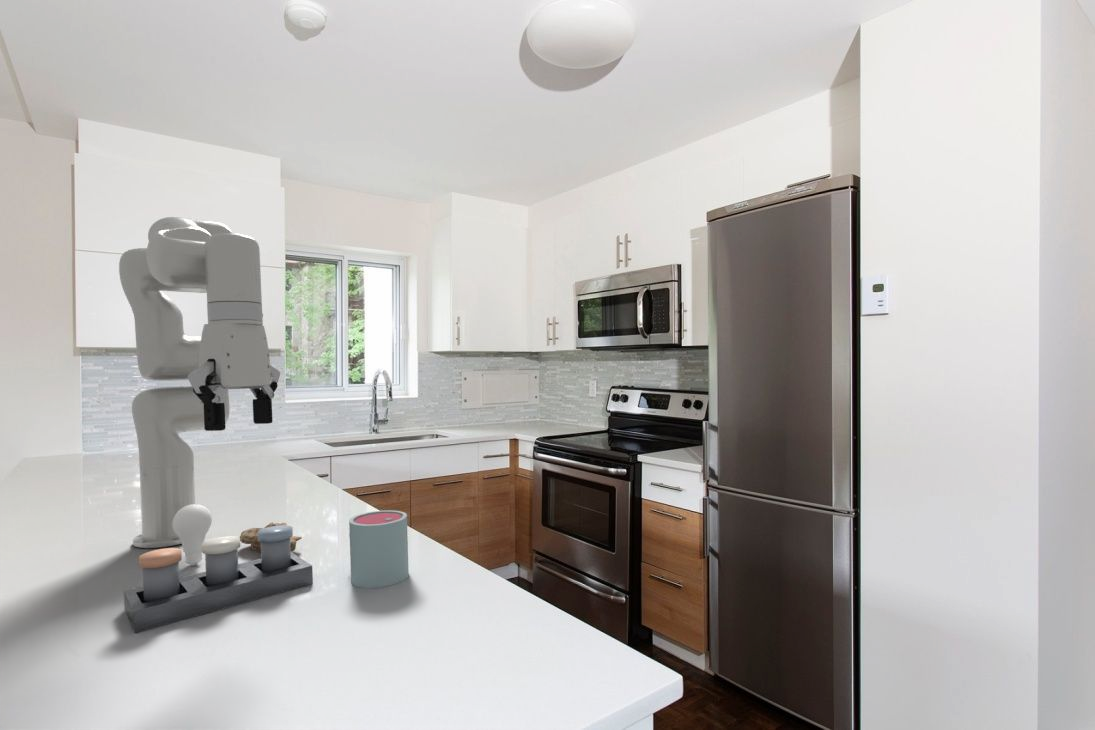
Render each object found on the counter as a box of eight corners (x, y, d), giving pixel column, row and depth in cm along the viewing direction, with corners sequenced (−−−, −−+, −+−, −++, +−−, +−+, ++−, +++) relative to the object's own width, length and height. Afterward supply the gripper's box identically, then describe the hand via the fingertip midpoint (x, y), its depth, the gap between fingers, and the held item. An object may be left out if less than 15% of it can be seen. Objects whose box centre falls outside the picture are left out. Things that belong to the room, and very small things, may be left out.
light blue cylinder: (254, 567, 97) (253, 530, 97) (287, 559, 101) (286, 523, 101) (264, 575, 94) (263, 536, 93) (298, 567, 97) (297, 529, 97)
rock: (328, 535, 114) (280, 537, 106) (323, 562, 113) (275, 566, 105) (281, 518, 124) (234, 519, 116) (276, 542, 123) (229, 545, 115)
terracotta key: (137, 595, 87) (136, 553, 87) (178, 586, 90) (177, 545, 90) (143, 606, 83) (142, 562, 83) (186, 595, 86) (184, 553, 86)
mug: (419, 575, 99) (417, 516, 99) (369, 592, 92) (367, 529, 92) (375, 558, 108) (374, 503, 108) (327, 572, 101) (325, 514, 101)
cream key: (199, 580, 92) (198, 541, 92) (236, 572, 96) (234, 534, 95) (207, 590, 88) (206, 548, 88) (245, 580, 92) (244, 540, 92)
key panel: (124, 610, 88) (123, 590, 88) (291, 568, 104) (290, 551, 104) (134, 633, 80) (134, 611, 80) (312, 583, 96) (312, 565, 96)
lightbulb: (195, 572, 103) (193, 509, 103) (165, 570, 104) (163, 508, 104) (221, 560, 109) (219, 501, 109) (192, 558, 110) (190, 500, 110)
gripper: (256, 321, 101) (260, 421, 101) (166, 313, 84) (172, 434, 84) (293, 318, 99) (298, 420, 99) (210, 310, 82) (215, 433, 82)
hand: (240, 426), depth 91 cm, fingers open, 9 cm apart
